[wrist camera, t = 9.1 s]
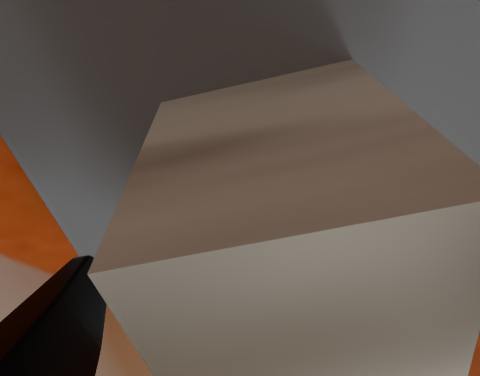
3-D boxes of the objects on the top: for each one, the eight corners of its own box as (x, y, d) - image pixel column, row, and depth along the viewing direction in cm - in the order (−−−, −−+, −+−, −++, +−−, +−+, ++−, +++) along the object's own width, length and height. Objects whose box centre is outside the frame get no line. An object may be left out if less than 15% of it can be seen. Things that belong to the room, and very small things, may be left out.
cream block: (358, 213, 12) (458, 410, 7) (210, 241, 12) (199, 445, 7) (352, 59, 9) (513, 195, 4) (161, 102, 9) (87, 273, 4)
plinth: (421, 205, 18) (480, 282, 14) (154, 256, 19) (134, 340, 15) (450, -177, 10) (603, -266, 6) (3, -51, 12) (-121, -52, 7)
